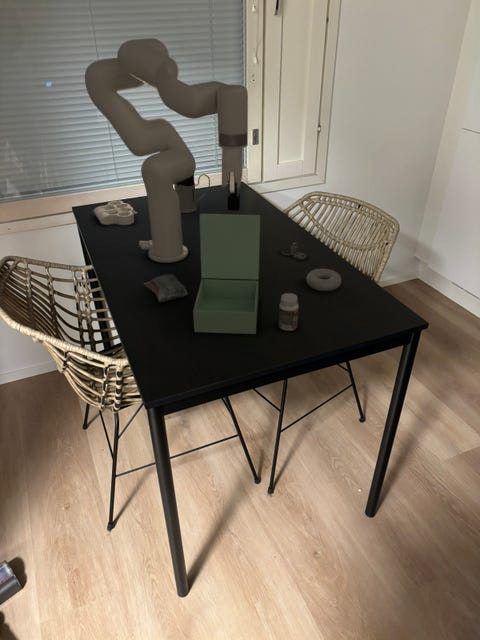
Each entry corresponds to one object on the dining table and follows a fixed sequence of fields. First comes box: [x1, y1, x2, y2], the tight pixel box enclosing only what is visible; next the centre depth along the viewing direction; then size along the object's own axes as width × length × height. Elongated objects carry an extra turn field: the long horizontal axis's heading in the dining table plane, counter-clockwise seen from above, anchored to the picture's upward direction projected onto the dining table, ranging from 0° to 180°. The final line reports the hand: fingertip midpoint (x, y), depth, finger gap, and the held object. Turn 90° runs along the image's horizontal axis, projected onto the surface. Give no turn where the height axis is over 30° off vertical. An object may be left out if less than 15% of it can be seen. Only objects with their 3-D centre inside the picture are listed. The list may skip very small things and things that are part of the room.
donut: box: [305, 268, 342, 292], centre depth 141 cm, size 10×4×10 cm
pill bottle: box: [278, 292, 300, 332], centre depth 122 cm, size 5×5×8 cm
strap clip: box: [280, 242, 308, 261], centre depth 157 cm, size 8×3×4 cm, turn 51°
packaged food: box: [143, 273, 189, 303], centre depth 136 cm, size 9×12×5 cm
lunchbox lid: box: [199, 213, 261, 281], centre depth 129 cm, size 17×15×5 cm
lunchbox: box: [192, 278, 260, 335], centre depth 127 cm, size 16×15×6 cm
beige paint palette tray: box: [92, 200, 139, 226], centre depth 185 cm, size 3×18×15 cm
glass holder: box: [173, 173, 211, 214], centre depth 189 cm, size 9×14×15 cm, turn 82°
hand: (233, 209), depth 134 cm, fingers closed
